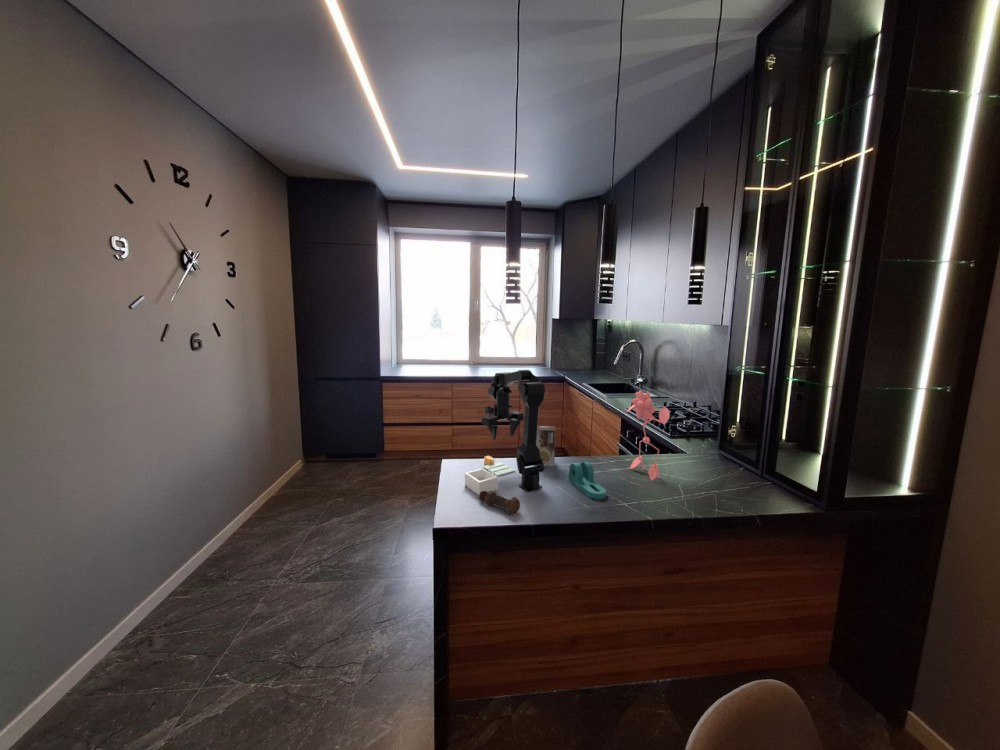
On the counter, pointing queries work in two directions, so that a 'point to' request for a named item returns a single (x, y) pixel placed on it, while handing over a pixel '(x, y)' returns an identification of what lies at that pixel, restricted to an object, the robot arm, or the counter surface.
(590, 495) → the bracket
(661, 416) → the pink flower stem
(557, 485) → the counter surface
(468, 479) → the parts tub
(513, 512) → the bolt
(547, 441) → the coffee box
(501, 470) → the lid
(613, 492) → the counter surface
